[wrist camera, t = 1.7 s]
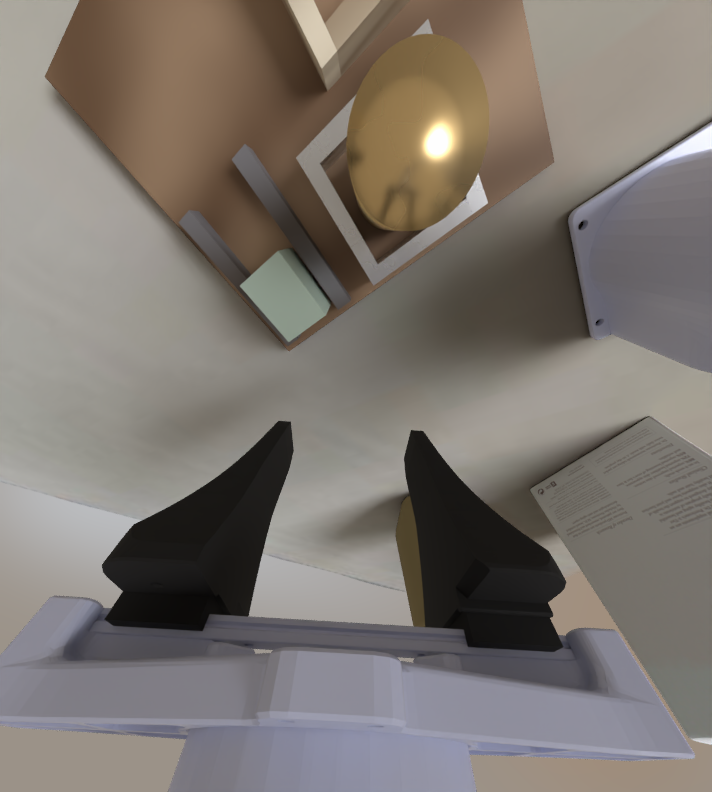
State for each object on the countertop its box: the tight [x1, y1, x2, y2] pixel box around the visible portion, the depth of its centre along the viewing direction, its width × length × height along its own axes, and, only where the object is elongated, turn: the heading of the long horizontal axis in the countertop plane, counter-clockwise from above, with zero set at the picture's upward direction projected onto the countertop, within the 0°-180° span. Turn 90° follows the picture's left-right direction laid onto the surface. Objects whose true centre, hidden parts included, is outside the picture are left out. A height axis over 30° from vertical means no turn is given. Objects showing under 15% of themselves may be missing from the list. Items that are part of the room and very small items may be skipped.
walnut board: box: [45, 0, 554, 351], centre depth 13 cm, size 17×19×2 cm
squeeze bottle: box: [396, 496, 425, 627], centre depth 24 cm, size 8×8×18 cm
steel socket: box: [296, 19, 488, 286], centre depth 13 cm, size 7×7×2 cm
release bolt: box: [240, 248, 331, 342], centre depth 16 cm, size 4×3×3 cm
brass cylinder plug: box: [346, 34, 489, 231], centre depth 10 cm, size 4×4×8 cm
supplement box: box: [530, 417, 712, 745], centre depth 21 cm, size 13×13×18 cm
